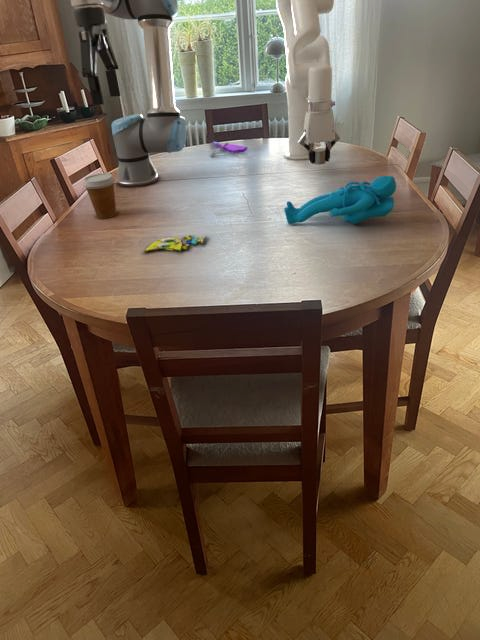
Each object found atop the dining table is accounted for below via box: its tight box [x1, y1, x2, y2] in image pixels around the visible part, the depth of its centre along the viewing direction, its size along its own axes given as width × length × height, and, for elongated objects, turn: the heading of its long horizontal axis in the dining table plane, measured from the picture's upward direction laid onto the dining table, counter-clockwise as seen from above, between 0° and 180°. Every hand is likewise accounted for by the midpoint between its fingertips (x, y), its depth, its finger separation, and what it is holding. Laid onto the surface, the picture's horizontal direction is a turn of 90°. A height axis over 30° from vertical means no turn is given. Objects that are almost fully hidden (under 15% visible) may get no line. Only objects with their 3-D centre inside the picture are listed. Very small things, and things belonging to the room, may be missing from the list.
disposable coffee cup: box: [83, 172, 117, 219], centre depth 152 cm, size 10×10×12 cm
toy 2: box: [283, 175, 397, 225], centre depth 132 cm, size 17×11×30 cm
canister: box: [312, 147, 327, 165], centre depth 170 cm, size 5×5×4 cm
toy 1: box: [144, 234, 207, 254], centre depth 130 cm, size 10×1×15 cm
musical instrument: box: [210, 141, 248, 157], centre depth 213 cm, size 24×2×20 cm
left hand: (107, 100), depth 131 cm, fingers open, 13 cm apart
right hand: (319, 161), depth 171 cm, fingers closed on canister, 4 cm apart
